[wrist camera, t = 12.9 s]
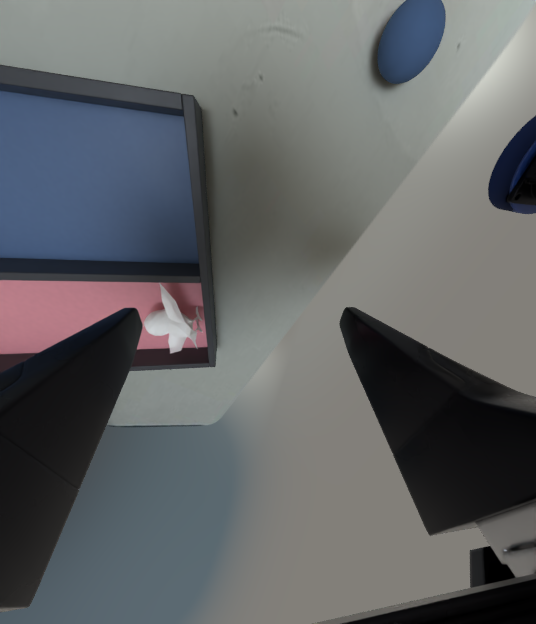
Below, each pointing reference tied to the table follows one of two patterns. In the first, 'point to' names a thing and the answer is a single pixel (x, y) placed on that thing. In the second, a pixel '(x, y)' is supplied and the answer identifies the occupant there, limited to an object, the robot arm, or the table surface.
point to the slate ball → (410, 39)
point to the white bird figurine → (172, 323)
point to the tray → (101, 214)
